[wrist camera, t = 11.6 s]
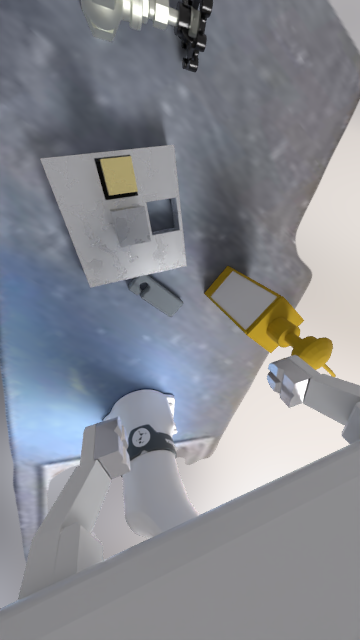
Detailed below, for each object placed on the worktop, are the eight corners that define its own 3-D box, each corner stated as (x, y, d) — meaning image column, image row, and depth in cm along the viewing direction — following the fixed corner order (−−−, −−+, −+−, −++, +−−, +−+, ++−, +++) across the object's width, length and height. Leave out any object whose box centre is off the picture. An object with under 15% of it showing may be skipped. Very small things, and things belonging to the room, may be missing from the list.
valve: (84, 57, 23) (186, 85, 26) (78, 13, 17) (208, 56, 21) (73, -48, 19) (192, 0, 23) (62, -141, 14) (219, -60, 18)
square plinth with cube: (181, 261, 38) (197, 275, 31) (91, 281, 34) (88, 300, 28) (168, 149, 29) (186, 135, 22) (46, 162, 26) (26, 150, 19)
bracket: (168, 313, 43) (171, 318, 41) (127, 285, 37) (128, 289, 36) (181, 299, 42) (184, 303, 40) (140, 268, 36) (142, 272, 35)
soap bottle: (238, 320, 49) (324, 400, 30) (204, 293, 42) (286, 373, 23) (259, 297, 48) (364, 366, 28) (227, 265, 41) (337, 327, 22)
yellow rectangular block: (124, 165, 28) (130, 156, 22) (130, 192, 30) (137, 191, 23) (101, 167, 28) (100, 159, 21) (108, 195, 29) (109, 195, 23)
